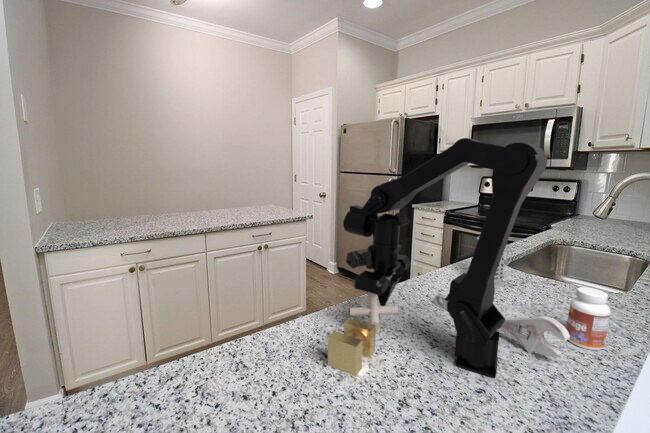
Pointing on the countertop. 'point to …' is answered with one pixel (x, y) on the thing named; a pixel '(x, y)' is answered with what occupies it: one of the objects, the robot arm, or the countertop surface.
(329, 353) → the square-ended brass dumbbell
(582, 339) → the pill bottle
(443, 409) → the countertop surface
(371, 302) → the pipe connector
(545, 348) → the wrench
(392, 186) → the robot arm
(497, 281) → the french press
